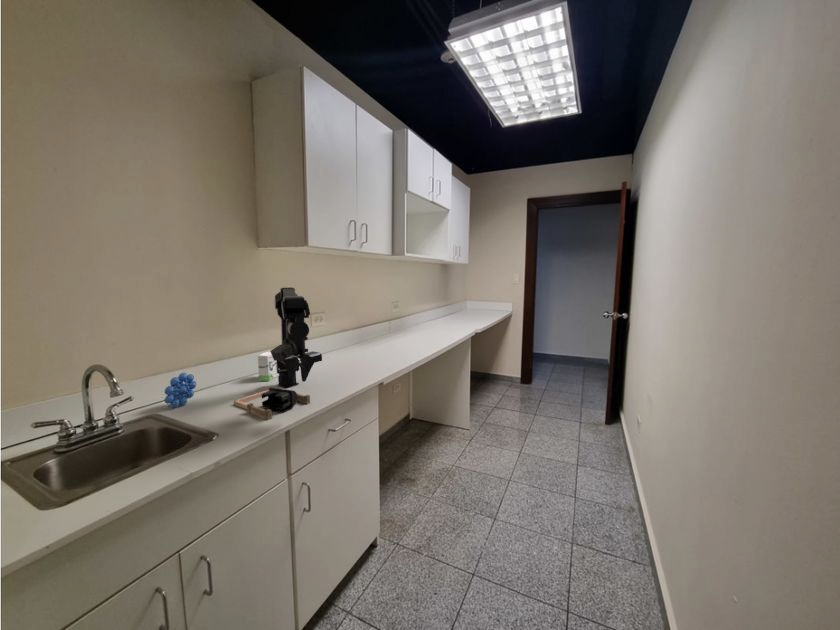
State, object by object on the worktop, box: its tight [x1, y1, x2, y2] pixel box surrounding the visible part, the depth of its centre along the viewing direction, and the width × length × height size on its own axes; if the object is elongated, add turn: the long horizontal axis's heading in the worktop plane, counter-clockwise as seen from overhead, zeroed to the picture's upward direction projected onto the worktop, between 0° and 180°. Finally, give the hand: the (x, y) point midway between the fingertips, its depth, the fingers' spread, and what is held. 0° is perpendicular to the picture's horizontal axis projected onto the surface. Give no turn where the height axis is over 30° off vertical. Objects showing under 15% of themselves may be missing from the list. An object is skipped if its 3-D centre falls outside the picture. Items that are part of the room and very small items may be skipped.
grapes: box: [164, 372, 197, 409], centre depth 126 cm, size 12×7×12 cm, turn 161°
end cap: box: [261, 387, 298, 414], centre depth 123 cm, size 10×7×7 cm
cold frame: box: [246, 393, 311, 421], centre depth 124 cm, size 17×11×3 cm, turn 148°
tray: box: [233, 389, 269, 410], centre depth 129 cm, size 14×12×2 cm
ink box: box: [257, 351, 279, 382], centre depth 158 cm, size 9×5×12 cm, turn 172°
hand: (297, 379), depth 117 cm, fingers open, 6 cm apart
